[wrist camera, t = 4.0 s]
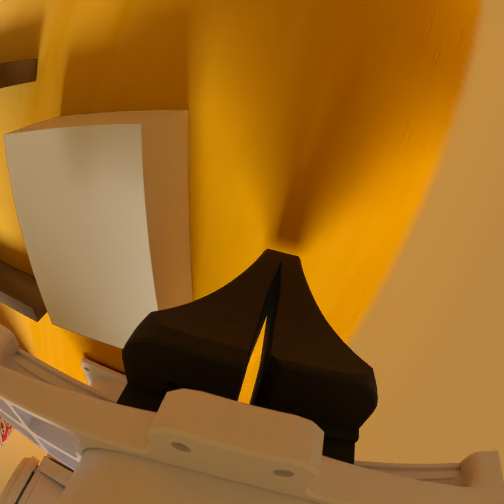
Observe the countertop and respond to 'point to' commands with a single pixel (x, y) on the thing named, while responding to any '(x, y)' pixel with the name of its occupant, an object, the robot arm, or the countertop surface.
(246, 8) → the countertop surface
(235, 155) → the countertop surface
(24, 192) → the carton
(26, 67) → the display stand
